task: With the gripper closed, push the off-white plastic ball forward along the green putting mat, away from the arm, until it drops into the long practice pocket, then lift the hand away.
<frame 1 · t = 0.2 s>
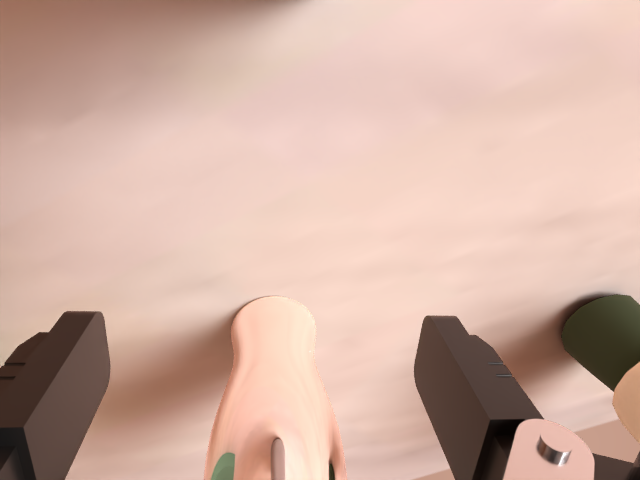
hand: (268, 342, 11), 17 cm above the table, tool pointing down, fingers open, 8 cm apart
beer glass: (273, 329, 33), on the table
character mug: (594, 320, 35), on the table
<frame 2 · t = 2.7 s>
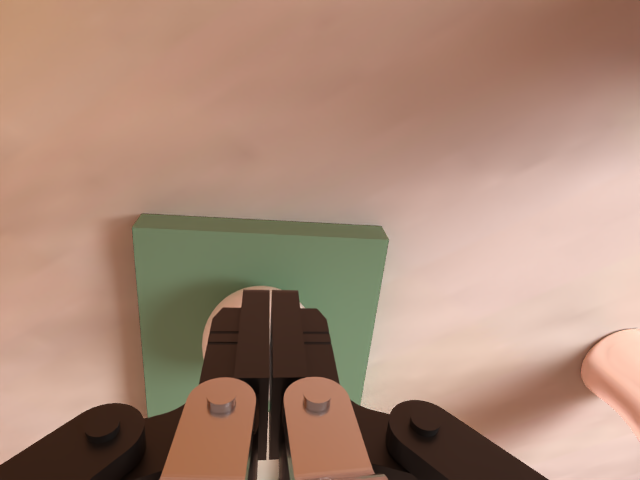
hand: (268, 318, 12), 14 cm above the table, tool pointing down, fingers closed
beer glass: (617, 359, 34), on the table
putting mat: (257, 389, 32), on the table
ball: (259, 342, 24), point 5 cm above the table, touching putting mat
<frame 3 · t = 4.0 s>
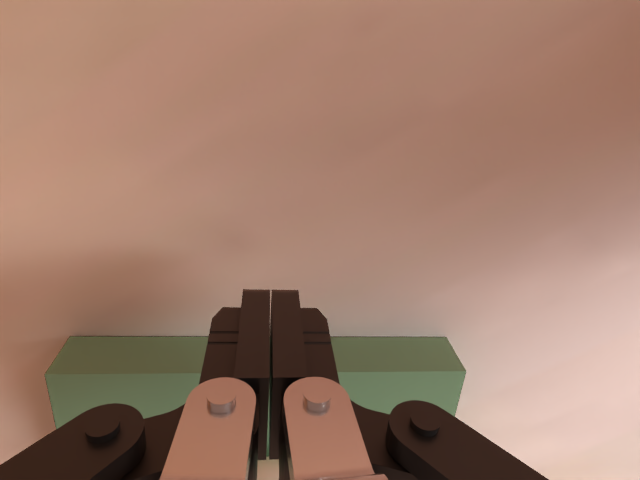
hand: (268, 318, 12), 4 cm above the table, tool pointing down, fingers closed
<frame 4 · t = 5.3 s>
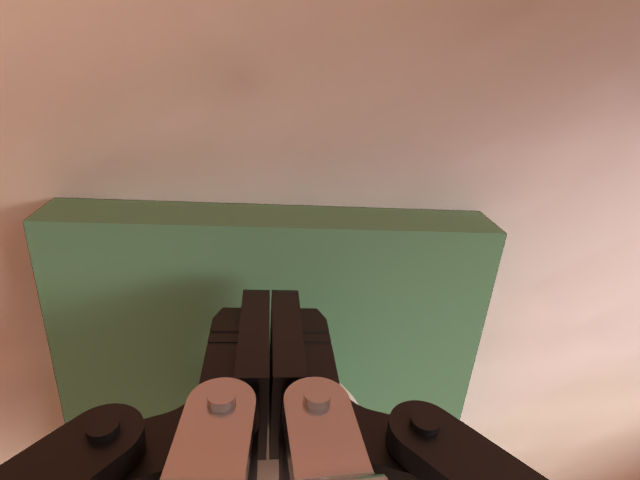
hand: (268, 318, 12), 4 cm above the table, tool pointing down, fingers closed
putting mat: (269, 479, 20), on the table
ball: (273, 467, 13), point 5 cm above the table, tilted 19°, touching gripper, putting mat
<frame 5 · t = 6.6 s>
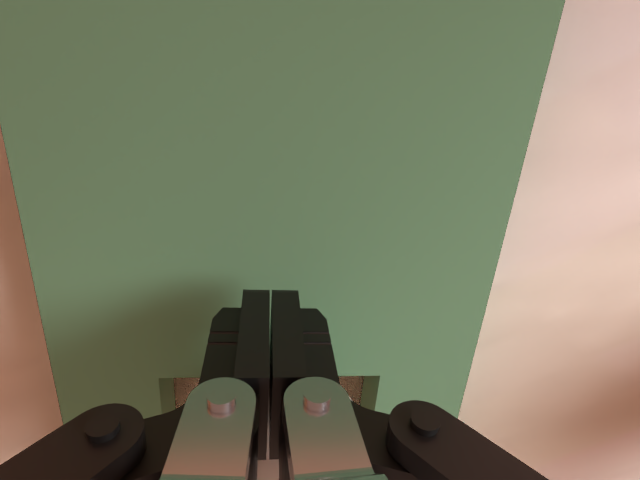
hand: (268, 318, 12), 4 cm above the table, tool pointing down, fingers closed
putting mat: (272, 340, 17), on the table
ball: (270, 466, 13), point 5 cm above the table, tilted 141°, touching putting mat
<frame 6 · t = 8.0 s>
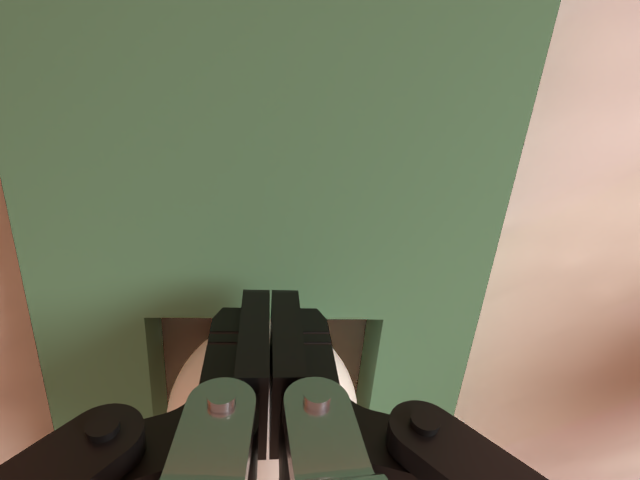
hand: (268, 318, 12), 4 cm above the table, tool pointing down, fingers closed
putting mat: (267, 286, 16), on the table
ball: (264, 412, 14), point 3 cm above the table, tilted 158°, touching gripper
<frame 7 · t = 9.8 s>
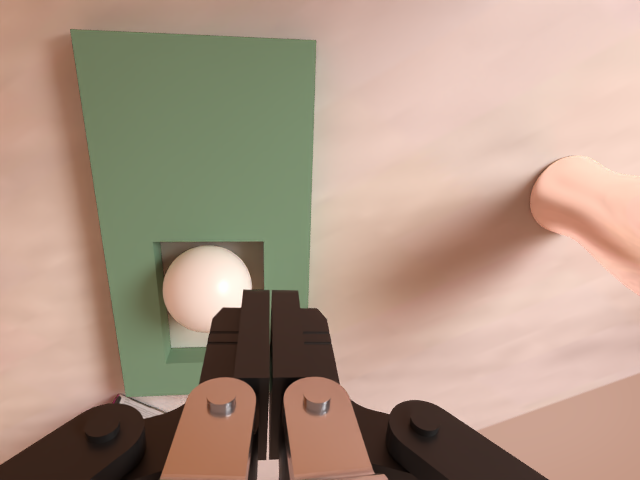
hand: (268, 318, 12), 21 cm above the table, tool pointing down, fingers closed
beer glass: (565, 193, 35), on the table
putting mat: (212, 231, 33), on the table
candy bar box: (119, 444, 40), on the table
ball: (208, 288, 31), point 3 cm above the table, tilted 155°
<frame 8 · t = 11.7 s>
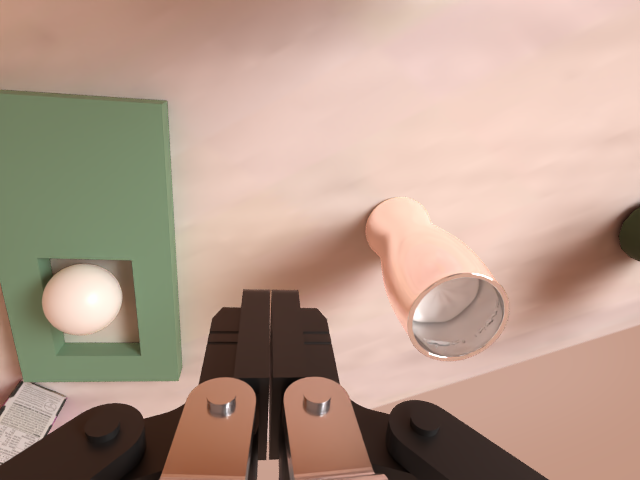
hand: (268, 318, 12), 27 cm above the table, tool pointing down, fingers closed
beer glass: (396, 226, 42), on the table
putting mat: (93, 249, 40), on the table
candy bar box: (26, 420, 47), on the table
ball: (83, 299, 38), point 3 cm above the table, tilted 151°
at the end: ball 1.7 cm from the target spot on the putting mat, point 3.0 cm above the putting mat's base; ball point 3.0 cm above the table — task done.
